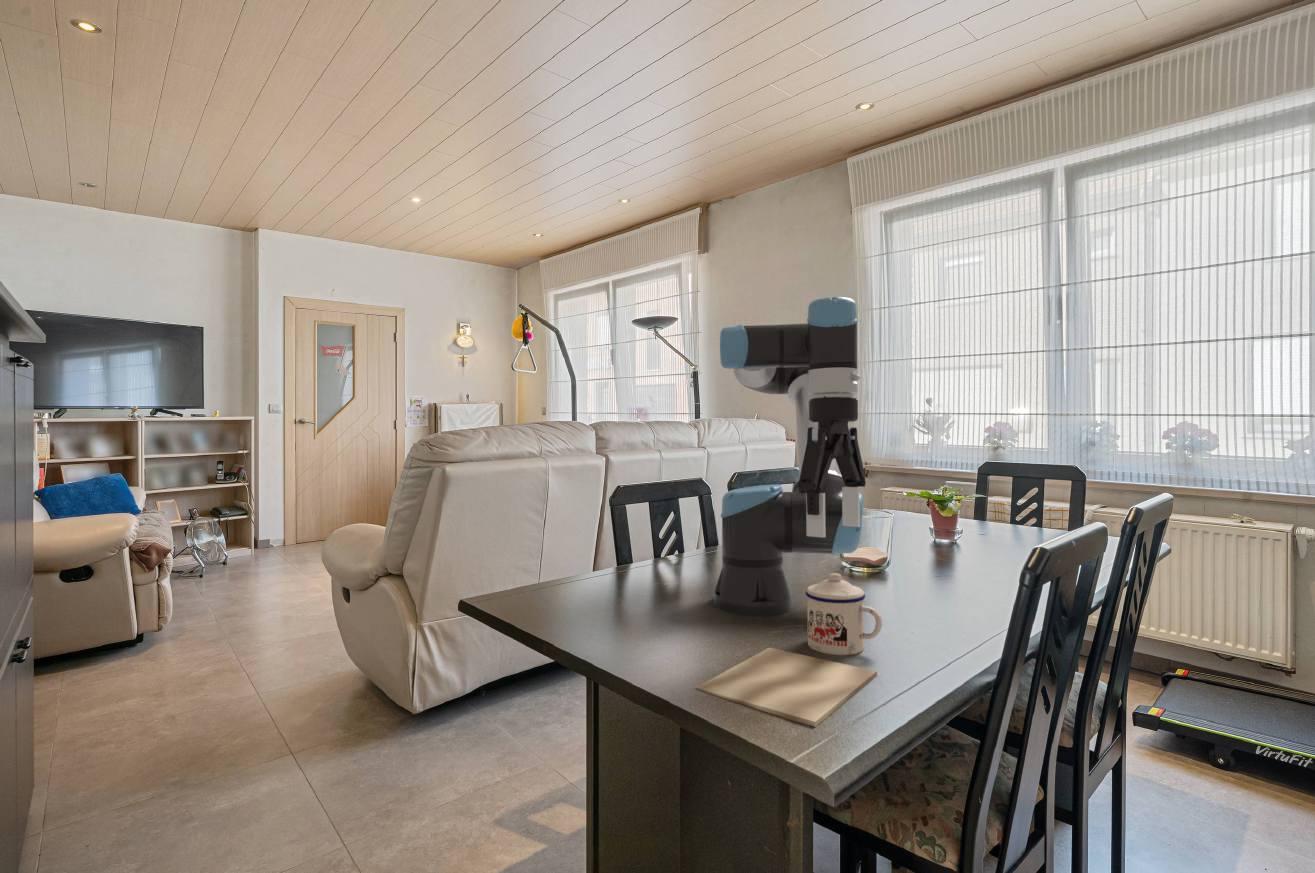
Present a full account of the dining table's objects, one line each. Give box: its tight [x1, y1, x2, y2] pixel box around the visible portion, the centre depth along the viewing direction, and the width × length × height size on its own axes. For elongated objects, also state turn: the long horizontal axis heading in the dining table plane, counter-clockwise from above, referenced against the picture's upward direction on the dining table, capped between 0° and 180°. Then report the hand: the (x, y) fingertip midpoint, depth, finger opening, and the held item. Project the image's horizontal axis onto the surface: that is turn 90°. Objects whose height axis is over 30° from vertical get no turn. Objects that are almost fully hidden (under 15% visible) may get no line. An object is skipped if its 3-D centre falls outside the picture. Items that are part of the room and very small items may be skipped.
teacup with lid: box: [805, 572, 883, 656], centre depth 103 cm, size 12×9×12 cm
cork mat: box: [695, 647, 878, 728], centre depth 89 cm, size 17×20×1 cm
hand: (834, 531), depth 103 cm, fingers open, 13 cm apart
